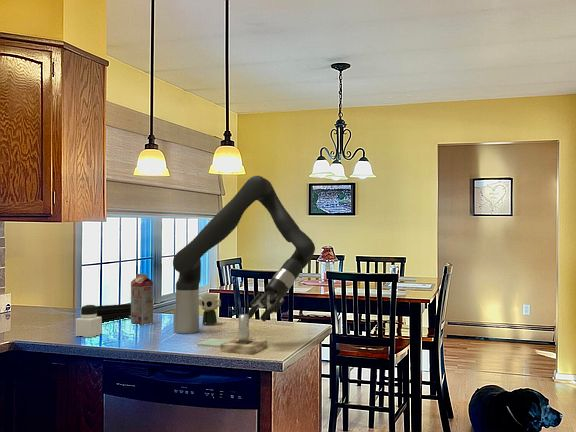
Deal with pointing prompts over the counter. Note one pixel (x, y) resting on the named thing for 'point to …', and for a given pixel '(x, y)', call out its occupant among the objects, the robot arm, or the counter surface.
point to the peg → (244, 329)
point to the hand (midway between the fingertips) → (255, 318)
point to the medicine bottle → (88, 322)
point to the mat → (212, 342)
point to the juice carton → (141, 300)
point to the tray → (114, 312)
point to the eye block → (243, 346)
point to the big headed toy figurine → (209, 307)
